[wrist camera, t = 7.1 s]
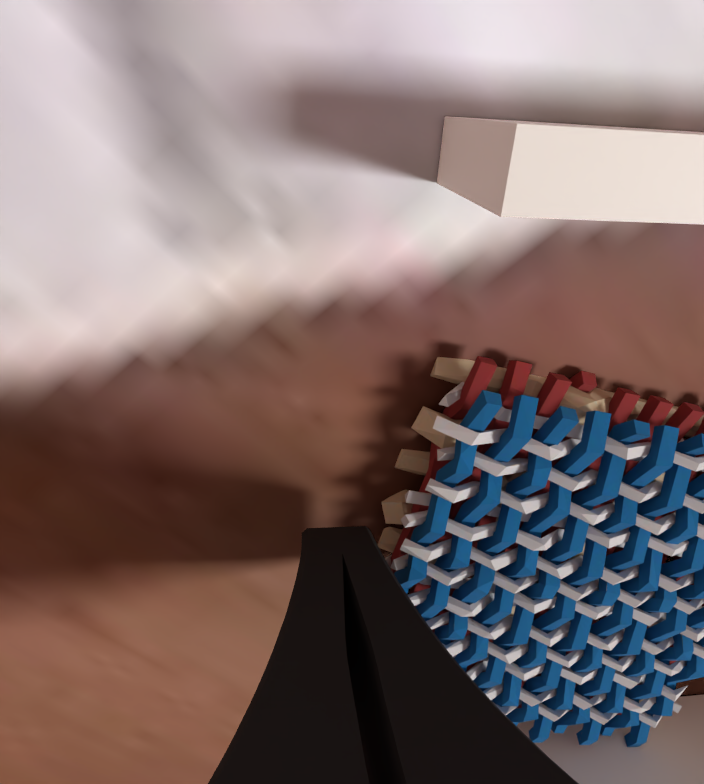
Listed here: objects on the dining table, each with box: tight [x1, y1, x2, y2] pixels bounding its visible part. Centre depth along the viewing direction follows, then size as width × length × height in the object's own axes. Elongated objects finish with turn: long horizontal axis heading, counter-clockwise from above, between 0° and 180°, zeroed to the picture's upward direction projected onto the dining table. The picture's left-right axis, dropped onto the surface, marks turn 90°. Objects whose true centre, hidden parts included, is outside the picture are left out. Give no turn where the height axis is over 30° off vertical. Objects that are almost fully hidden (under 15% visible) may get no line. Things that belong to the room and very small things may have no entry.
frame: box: [437, 116, 704, 784], centre depth 12 cm, size 17×12×3 cm
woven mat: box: [378, 356, 704, 747], centre depth 13 cm, size 10×11×2 cm
